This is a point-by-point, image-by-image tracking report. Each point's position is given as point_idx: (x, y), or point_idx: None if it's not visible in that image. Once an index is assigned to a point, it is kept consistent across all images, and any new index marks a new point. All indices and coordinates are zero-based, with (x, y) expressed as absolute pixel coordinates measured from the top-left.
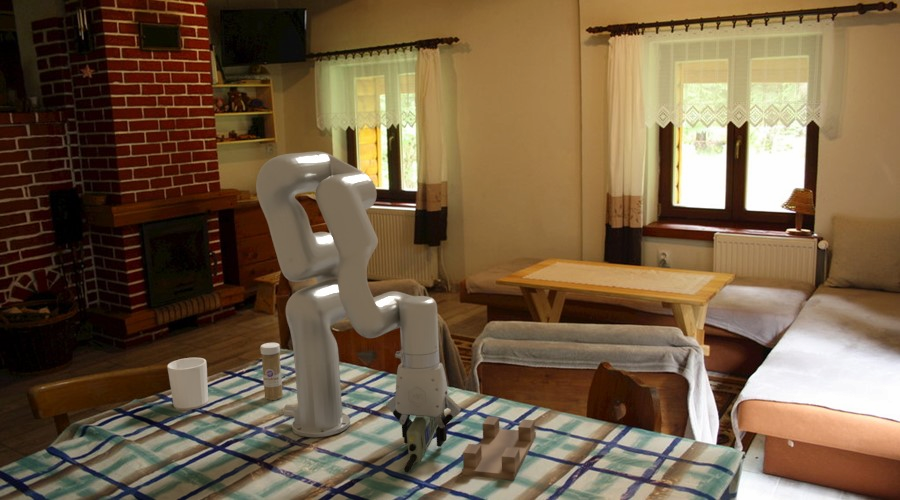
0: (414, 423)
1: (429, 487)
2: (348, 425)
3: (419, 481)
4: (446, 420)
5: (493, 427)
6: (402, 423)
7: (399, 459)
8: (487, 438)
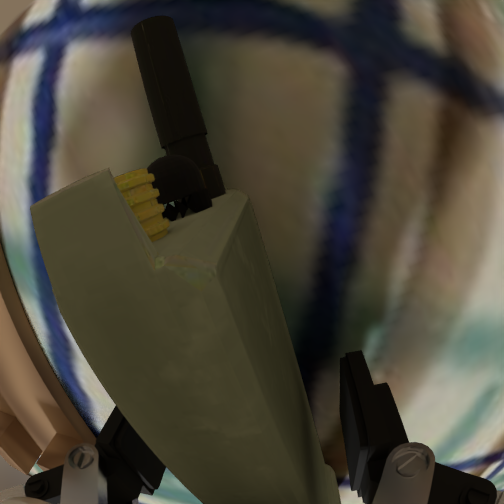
0: (241, 474)
1: (37, 23)
2: None
3: (83, 27)
4: (57, 481)
5: (42, 457)
6: (404, 454)
7: (320, 190)
8: (69, 434)
